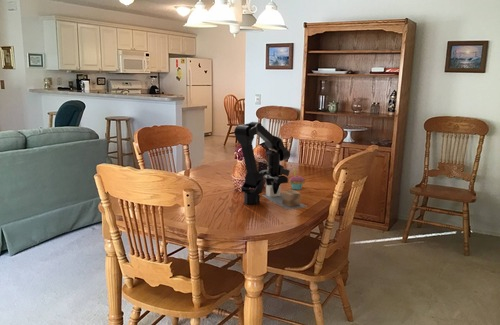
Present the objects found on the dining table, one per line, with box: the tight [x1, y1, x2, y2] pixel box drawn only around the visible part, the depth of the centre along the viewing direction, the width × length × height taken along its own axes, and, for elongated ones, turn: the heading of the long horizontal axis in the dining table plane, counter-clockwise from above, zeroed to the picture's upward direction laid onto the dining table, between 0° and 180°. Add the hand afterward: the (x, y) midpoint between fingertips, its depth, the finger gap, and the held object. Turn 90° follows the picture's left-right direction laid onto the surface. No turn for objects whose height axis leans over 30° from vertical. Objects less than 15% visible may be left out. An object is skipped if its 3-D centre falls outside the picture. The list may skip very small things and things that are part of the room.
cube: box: [282, 189, 301, 207], centre depth 198 cm, size 6×6×6 cm
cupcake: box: [288, 168, 306, 191], centre depth 229 cm, size 9×8×12 cm
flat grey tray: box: [260, 184, 308, 210], centre depth 205 cm, size 11×25×6 cm, turn 27°
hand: (273, 192), depth 214 cm, fingers closed on flat grey tray, 4 cm apart
